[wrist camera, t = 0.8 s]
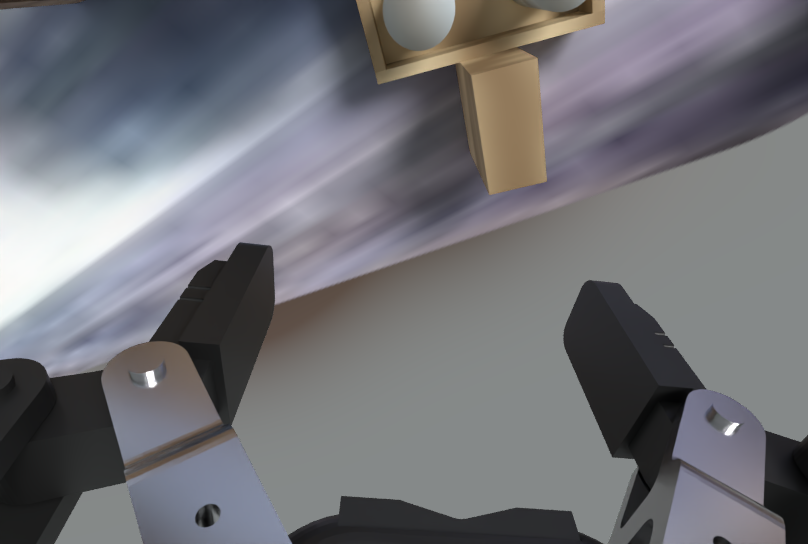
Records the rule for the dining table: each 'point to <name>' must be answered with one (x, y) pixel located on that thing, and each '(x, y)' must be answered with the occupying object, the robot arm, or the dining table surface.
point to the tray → (480, 68)
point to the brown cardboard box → (33, 3)
